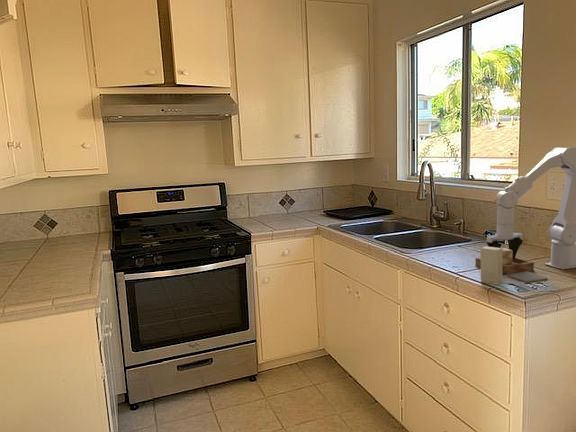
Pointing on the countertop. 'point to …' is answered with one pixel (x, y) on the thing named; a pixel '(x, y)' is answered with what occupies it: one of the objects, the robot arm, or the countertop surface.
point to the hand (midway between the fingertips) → (503, 259)
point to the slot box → (513, 266)
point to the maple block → (506, 256)
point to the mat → (526, 277)
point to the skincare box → (491, 265)
